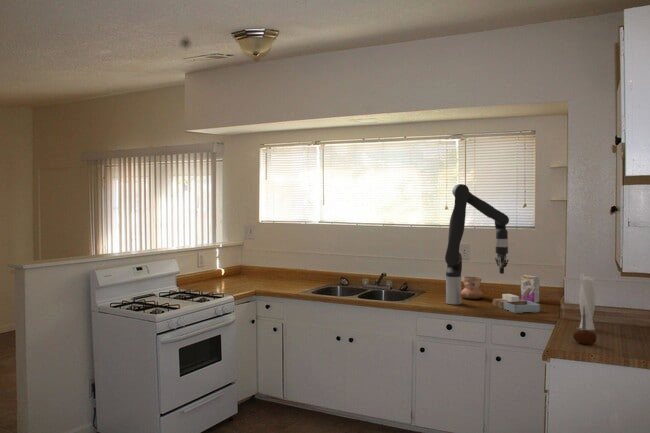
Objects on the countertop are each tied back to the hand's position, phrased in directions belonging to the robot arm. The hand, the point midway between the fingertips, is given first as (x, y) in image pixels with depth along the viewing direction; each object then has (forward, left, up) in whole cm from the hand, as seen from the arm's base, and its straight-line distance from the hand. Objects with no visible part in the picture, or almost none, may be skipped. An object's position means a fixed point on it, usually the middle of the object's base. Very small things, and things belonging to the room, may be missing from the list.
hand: (501, 273), depth 352 cm
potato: (+99, -14, -19) cm, 102 cm away
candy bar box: (-3, +21, -19) cm, 29 cm away
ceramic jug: (-23, -9, -19) cm, 31 cm away
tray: (+23, 0, -19) cm, 30 cm away
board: (+10, 0, -19) cm, 21 cm away
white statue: (+73, +6, -20) cm, 76 cm away
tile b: (+13, 0, -15) cm, 20 cm away
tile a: (+8, 0, -15) cm, 17 cm away
